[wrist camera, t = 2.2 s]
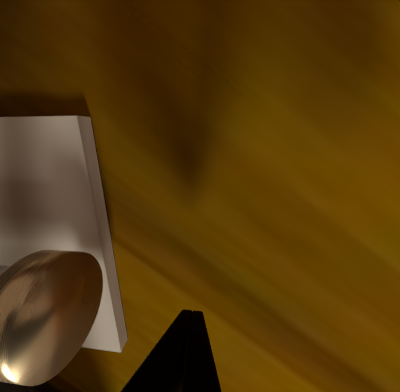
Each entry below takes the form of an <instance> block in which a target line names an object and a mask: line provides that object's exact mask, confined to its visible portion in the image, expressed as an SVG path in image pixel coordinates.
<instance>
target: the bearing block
mask: <svg viewBox="0 0 400 392" xmlns="http://www.w3.org/2000/svg"><path fill="white" fill-rule="evenodd" d="M41 250H64V251H78V252H86V253H89V254H91V255H93V256H94V257H95V258H96V259H97V261H98V262H99V264H100V267H101V270H102V275H103V291H102V298H101V302H100V307H99V310H98V313H97V316H96V319H95V321H94V324H93V326H92V328H91V330H90V332H89V334H88V336H87V338H86V340H85V342H84V343H83V345H82V346H81V347H85V348H92V349H99V350H106V351H114V352H122V350H123V348H124V346H125V344H126V341H127V339H128V338H127V332H126V326H125V320H124V314H123V308H122V302H121V296H120V290H119V284H118V278H117V272H116V266H115V260H114V254H113V248H112V242H111V236H110V231H109V225H108V219H107V213H106V207H105V201H104V195H103V189H102V183H101V177H100V171H99V165H98V159H97V153H96V147H95V141H94V135H93V129H92V123H91V117H85V116H32V117H0V265H2V266H12V265H13V264H14V263H16V262H17V261H19V260H20V259H22V258H24V257H26V256H27V255H30V254H32V253H34V252H38V251H41Z"/></svg>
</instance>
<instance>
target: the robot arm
mask: <svg viewBox="0 0 400 392" xmlns="http://www.w3.org/2000/svg"><path fill="white" fill-rule="evenodd" d="M121 392H221V388H220V383H219V379H218V375H217V371H216V366H215V362H214V358H213V354H212V349H211V345H210V341H209V337H208V333H207V328H206V324H205V320H204V316H203V312H202V311H193V312H192V311H191V310H185V309H184V310H182V311H181V312H180V314H179V315H178V316H177V318H176V319H175V320H174V322H173V323H172V324H171V326H170V327H169V328H168V330H167V331H166V332H165V333H164V335H163V336H162V337H161V339H160V340H159V341H158V343H157V344H156V345H155V347H154V348H153V349H152V351H151V352H150V353H149V355H148V356H147V357H146V359H145V360H144V361H143V363H142V364H141V365H140V367H139V368H138V369H137V371H136V372H135V373H134V375H133V376H132V377H131V379H130V380H129V381H128V383H127V384H126V385H125V387H124V388H123V389H122V391H121Z"/></svg>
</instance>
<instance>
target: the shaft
mask: <svg viewBox="0 0 400 392" xmlns="http://www.w3.org/2000/svg"><path fill="white" fill-rule="evenodd" d="M102 291H103V275H102V270H101V267H100V264H99V262H98V261H97V259H96V258H95V257H94V256H93V255H91V254H89V253H86V252H78V251H64V250H41V251H38V252H34V253H32V254H30V255H27V256H26V257H24V258H22V259H20V260H19V261H17V262H16V263H14V264H13V265H12V266H2V265H0V381H1V382H7V383H12V384H18V385H24V386H36V385H40V384H42V383H45V382H46V381H48V380H50V379H52V378H53V377H54V376H56V375H57V374H58V373H59V372H60V371H62V370H63V369H64V368H65V367H66V366H67V365H68V364H69V363H70V361H71V360H72V359H73V358H74V356H75V355H76V354H77V352H78V351H79V350H80V348H81V346H82V345H83V343H84V342H85V340H86V338H87V336H88V334H89V332H90V330H91V328H92V326H93V324H94V321H95V319H96V316H97V313H98V310H99V307H100V302H101V298H102Z"/></svg>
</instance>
